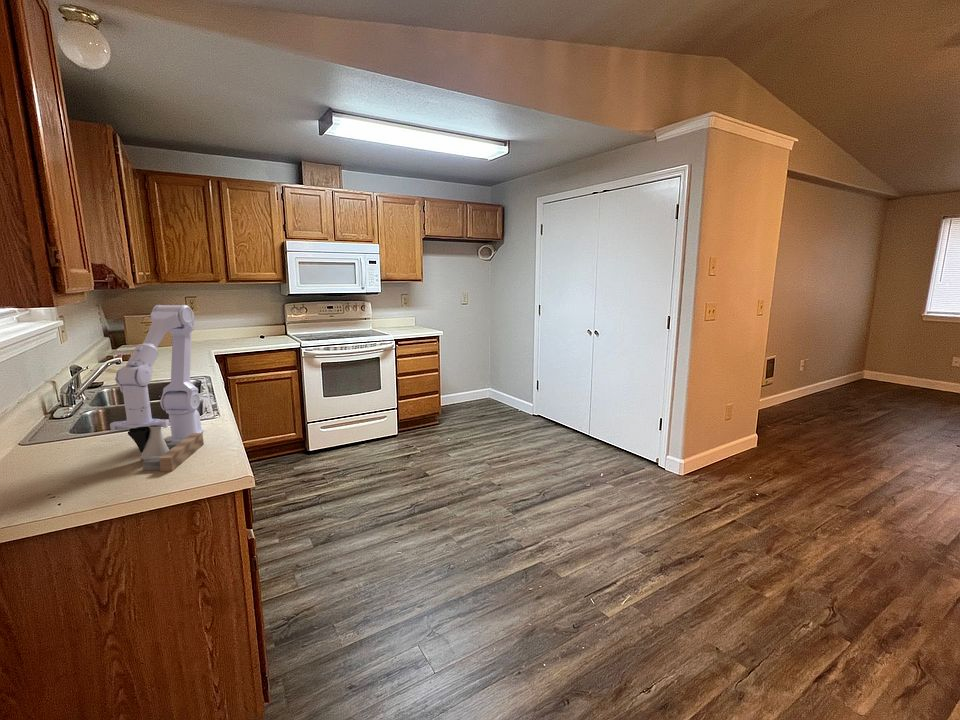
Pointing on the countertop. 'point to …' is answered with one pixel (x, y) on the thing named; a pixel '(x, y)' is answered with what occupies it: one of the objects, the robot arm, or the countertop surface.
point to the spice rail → (175, 453)
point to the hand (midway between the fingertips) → (144, 451)
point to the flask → (154, 444)
